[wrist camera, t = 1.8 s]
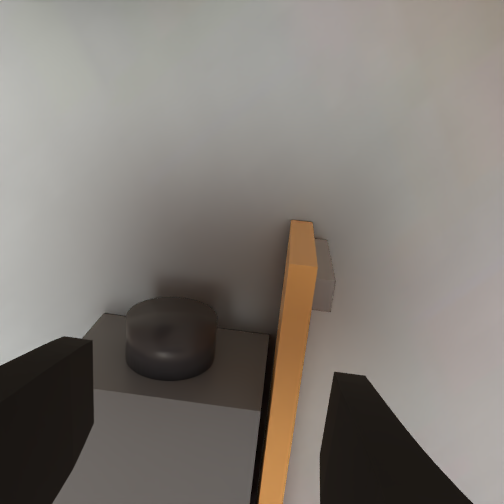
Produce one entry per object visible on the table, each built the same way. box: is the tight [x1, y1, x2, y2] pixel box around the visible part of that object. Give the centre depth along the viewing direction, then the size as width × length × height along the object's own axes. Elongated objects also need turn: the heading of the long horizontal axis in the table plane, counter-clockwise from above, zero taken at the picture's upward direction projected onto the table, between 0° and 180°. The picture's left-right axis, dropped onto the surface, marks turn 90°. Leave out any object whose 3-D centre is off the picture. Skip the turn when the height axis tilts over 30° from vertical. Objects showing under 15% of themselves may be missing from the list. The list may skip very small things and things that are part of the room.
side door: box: [256, 220, 336, 504], centre depth 18 cm, size 15×1×5 cm, turn 175°
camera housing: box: [52, 297, 269, 504], centre depth 19 cm, size 12×7×6 cm, turn 175°
